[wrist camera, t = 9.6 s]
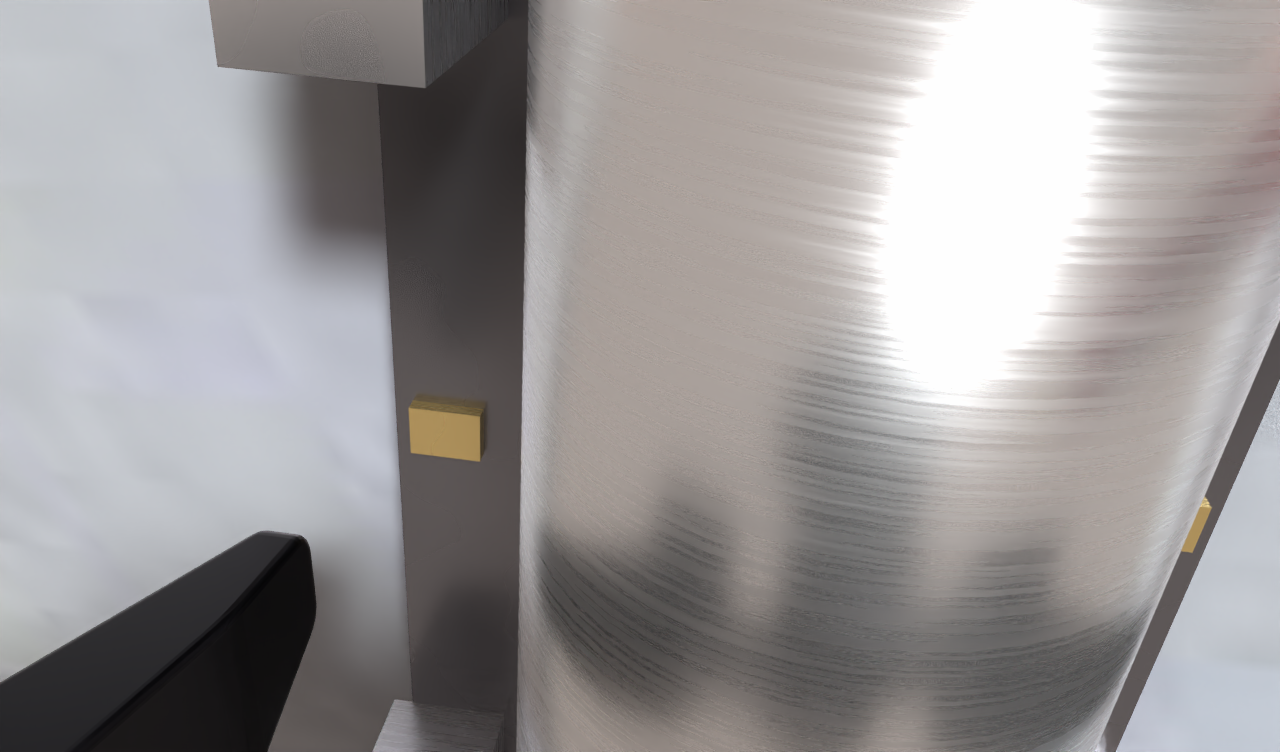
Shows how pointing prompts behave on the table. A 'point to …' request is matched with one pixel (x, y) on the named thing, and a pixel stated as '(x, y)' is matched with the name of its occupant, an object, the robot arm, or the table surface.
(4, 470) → the table surface
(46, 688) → the robot arm
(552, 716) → the tube
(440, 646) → the cradle
